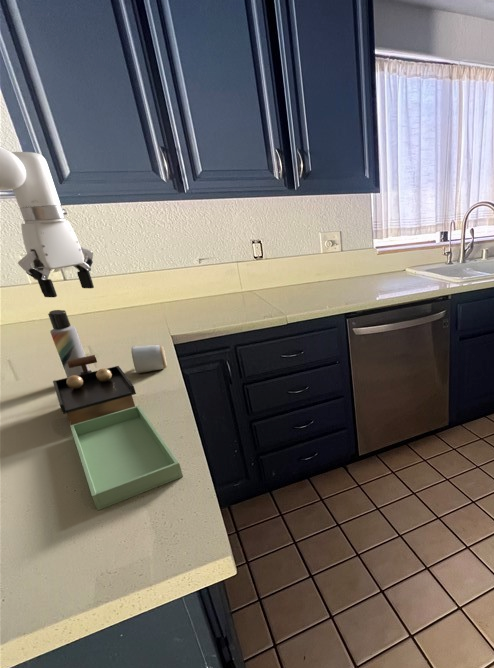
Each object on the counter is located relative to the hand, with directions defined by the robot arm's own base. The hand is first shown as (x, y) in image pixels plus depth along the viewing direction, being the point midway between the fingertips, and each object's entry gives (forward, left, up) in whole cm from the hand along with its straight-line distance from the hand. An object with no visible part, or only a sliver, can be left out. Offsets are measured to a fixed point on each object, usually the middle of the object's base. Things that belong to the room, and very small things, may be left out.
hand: (70, 292), depth 102 cm
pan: (+1, -10, -21) cm, 24 cm away
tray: (+11, -37, -26) cm, 47 cm away
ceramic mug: (+10, +13, -26) cm, 31 cm away
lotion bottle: (-8, +12, -26) cm, 30 cm away
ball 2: (+3, -8, -19) cm, 21 cm away
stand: (+1, -10, -26) cm, 28 cm away
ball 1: (-2, -10, -19) cm, 22 cm away
